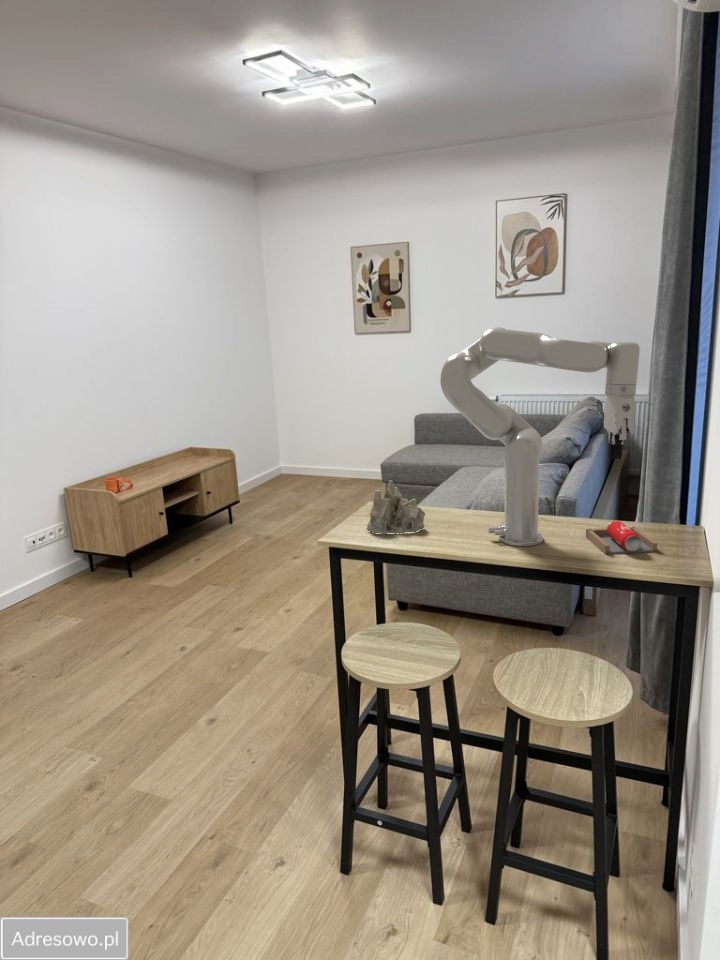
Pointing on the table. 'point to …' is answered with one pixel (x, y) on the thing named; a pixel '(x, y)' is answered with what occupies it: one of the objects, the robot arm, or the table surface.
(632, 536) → the beverage can
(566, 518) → the table surface
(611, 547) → the tray
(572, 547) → the table surface
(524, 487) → the robot arm
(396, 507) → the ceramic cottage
